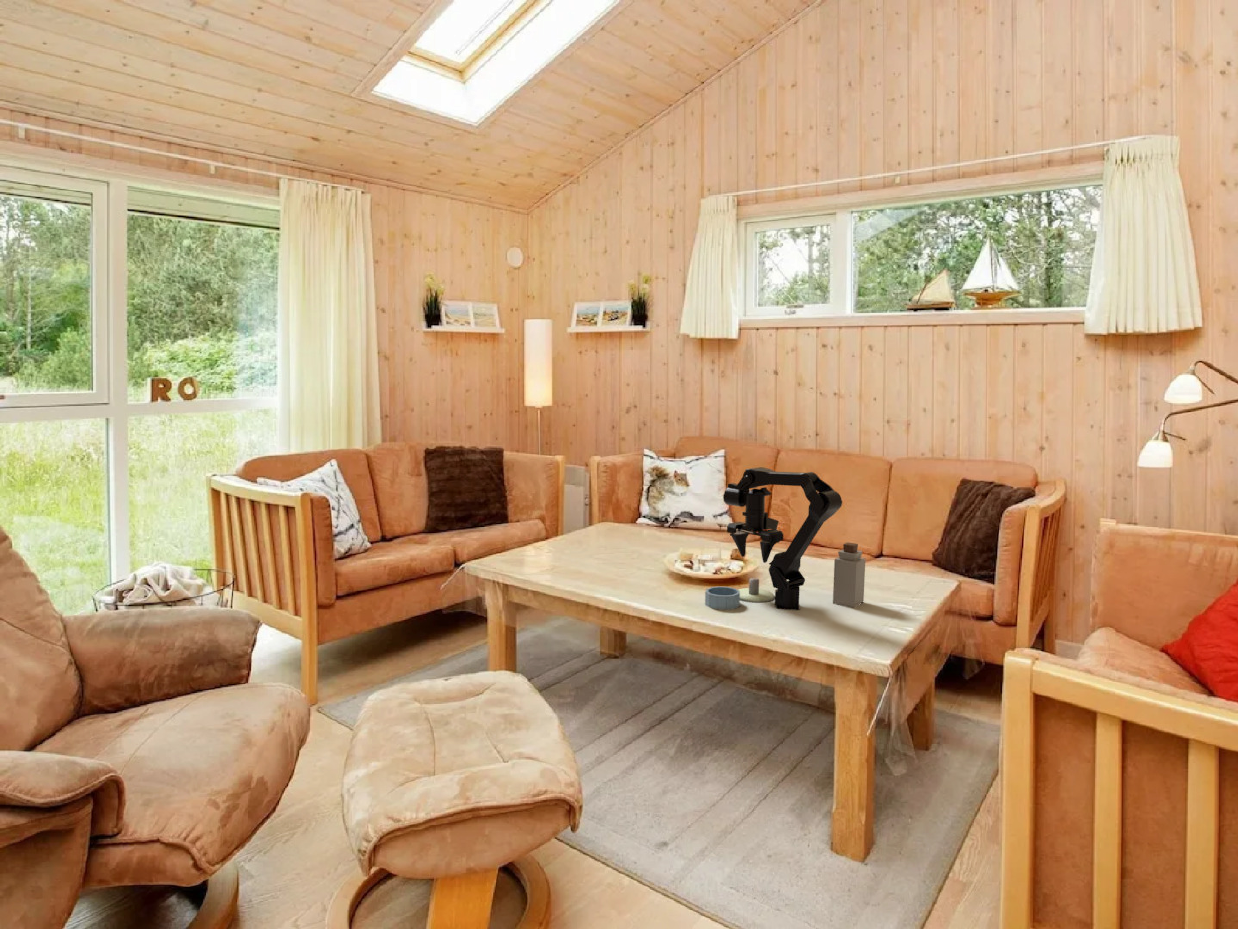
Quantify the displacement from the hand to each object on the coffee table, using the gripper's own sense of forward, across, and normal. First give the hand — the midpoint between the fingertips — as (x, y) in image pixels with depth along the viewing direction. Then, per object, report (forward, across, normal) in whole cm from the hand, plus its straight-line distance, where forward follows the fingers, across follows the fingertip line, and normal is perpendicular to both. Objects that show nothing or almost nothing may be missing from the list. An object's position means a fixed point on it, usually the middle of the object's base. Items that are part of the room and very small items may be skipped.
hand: (753, 559), depth 234 cm
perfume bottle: (+12, -20, -20) cm, 31 cm away
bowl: (+12, 0, +13) cm, 18 cm away
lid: (+12, 0, 0) cm, 12 cm away
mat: (+12, 0, 0) cm, 12 cm away
